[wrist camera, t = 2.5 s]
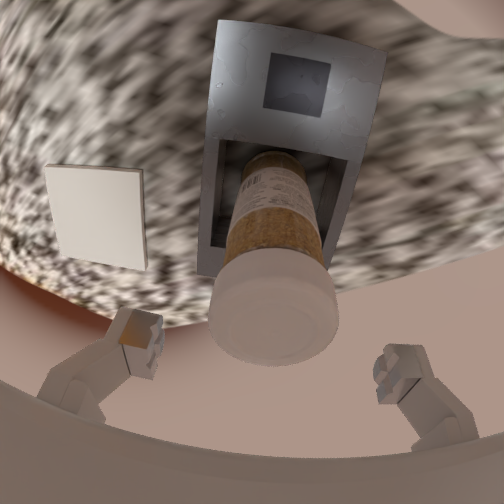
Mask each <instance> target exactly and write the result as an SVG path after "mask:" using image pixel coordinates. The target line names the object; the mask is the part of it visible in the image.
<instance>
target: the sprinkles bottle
mask: <svg viewBox="0 0 504 504" xmlns="http://www.w3.org/2000/svg"><path fill="white" fill-rule="evenodd" d="M321 246H322V244H321V238H320V234H319V229H318V225H317V221H316V216H315V211H314V207H313V203H312V199H311V195H310V192H309V189H308V187H307V177H306V174H305V170H304V168H303V166H302V165H301V164H300V162H299V161H298V160H297V159H296V158H295V157H293V156H292V155H290V154H288V153H286V152H281V151H267V152H263V153H260V154H258V155H257V156H255V157H253V158H252V159H251V160H250V161H249V162H248V163H247V164H246V166H245V168H244V170H243V172H242V176H241V186H240V189H239V191H238V195H237V199H236V203H235V207H234V211H233V215H232V219H231V223H230V227H229V232H228V236H227V243H226V253H225V258H224V263H223V267H222V268H221V270H220V272H219V274H218V276H217V278H216V280H215V283H214V287H213V291H212V296H211V301H210V307H209V313H208V326H209V330H210V333H211V335H212V337H213V339H214V340H215V342H216V343H217V344H218V345H219V346H220V347H221V348H222V349H223V350H224V351H225V352H226V353H228V354H230V355H231V356H233V357H235V358H237V359H239V360H241V361H244V362H247V363H251V364H255V365H261V366H286V365H291V364H296V363H299V362H302V361H305V360H308V359H310V358H312V357H314V356H316V355H317V354H319V353H320V352H322V351H323V350H324V349H325V348H326V347H327V346H328V345H329V344H330V343H331V341H332V340H333V338H334V336H335V334H336V332H337V329H338V325H339V314H338V306H337V300H336V295H335V290H334V285H333V282H332V278H331V277H330V275H329V273H328V272H327V269H326V268H325V265H324V259H323V254H322V249H321Z"/></svg>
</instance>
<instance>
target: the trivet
mask: <svg viewBox="0 0 504 504" xmlns="http://www.w3.org/2000/svg"><path fill="white" fill-rule="evenodd" d="M44 171H45V178H46V185H47V191H48V197H49V202H50V207H51V213H52V218H53V222H54V227H55V231H56V236H57V240H58V244H59V248H60V252H61V256H66V257H71V258H76V259H81V260H87V261H92V262H97V263H103V264H108V265H114V266H119V267H125V268H131V269H136V270H142V271H146V269H147V255H146V242H145V227H144V208H143V177H142V170H138V169H126V168H113V167H97V166H79V165H56V164H48V165H46V166H45V167H44Z"/></svg>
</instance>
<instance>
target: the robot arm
mask: <svg viewBox="0 0 504 504" xmlns="http://www.w3.org/2000/svg"><path fill="white" fill-rule="evenodd" d="M162 325H163V316H162V315H158V314H154V313H150V312H145V311H141V310H137V309H132V308H128V307H124V306H122V307H121V308H120V309H119V310H118V312H117V314H116V315H115V317H114V319H113V321H112V323H111V325H110V327H109V329H108V331H107V333H106V336H105V337H104V339H98V340H97V341H95V342H94V343H92V344H90V345H89V346H87V347H85V348H84V349H82V350H81V351H79V352H77V353H76V354H74V355H72V356H71V357H69V358H68V359H66V360H64V361H63V362H61V363H60V364H58V365H56V366H55V367H53V368H51V369H50V371H49V373H48V375H47V377H46V379H45V381H44V383H43V385H42V387H41V389H40V391H39V393H38V395H37V397H34V396H32V395H29V394H27V393H25V392H23V391H21V390H19V389H17V388H15V387H13V386H11V385H9V384H7V383H5V382H3V381H1V380H0V504H504V432H501V433H498V434H494V435H491V436H487V437H484V438H479V435H478V431H477V427H476V424H475V421H474V417H473V414H472V412H471V411H470V410H469V409H468V408H467V407H466V406H465V405H464V404H463V403H462V402H461V401H460V400H459V399H458V398H457V397H456V396H455V395H454V394H453V393H452V392H451V391H450V390H449V389H448V388H447V387H446V386H445V385H444V384H443V383H442V382H441V381H440V380H439V379H438V378H435V377H434V374H433V372H432V369H431V366H430V363H429V360H428V357H427V354H426V351H425V349H424V347H423V346H422V345H410V344H388V345H386V346H385V348H384V349H383V352H384V354H383V355H381V356H379V357H378V358H377V360H376V362H375V364H374V368H373V377H374V381H375V382H376V383H377V384H378V387H377V389H376V392H377V397H378V402H379V404H398V407H399V409H400V410H401V411H402V413H403V414H404V415H405V417H406V418H407V420H408V421H409V422H410V424H411V425H412V427H413V428H414V429H415V431H416V432H417V434H418V435H419V436H420V438H421V439H419V440H418V441H417V442H416V443H414V444H413V445H412V447H411V449H412V452H408V453H401V454H392V455H382V456H369V457H355V458H354V457H353V458H289V457H272V456H259V455H249V454H239V453H232V452H224V451H217V450H211V449H204V448H199V447H193V446H188V445H182V444H178V443H173V442H168V441H164V440H160V439H155V438H151V437H147V436H144V435H140V434H136V433H132V432H129V431H125V430H122V429H118V428H115V427H112V426H109V425H106V424H104V423H105V420H106V418H105V416H104V414H103V412H102V411H101V409H100V407H99V406H98V404H99V403H100V402H101V401H102V400H104V399H105V398H106V397H107V396H108V395H109V394H110V393H112V392H113V391H114V390H115V389H117V388H118V387H119V386H120V385H121V384H122V383H123V382H125V381H126V380H127V379H128V378H129V377H130V375H132V376H136V377H141V378H145V379H150V380H153V378H154V374H155V372H156V369H157V358H158V357H159V356H161V353H162V350H163V344H164V330H163V329H162V328H161V327H162Z"/></svg>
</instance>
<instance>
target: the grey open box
mask: <svg viewBox="0 0 504 504" xmlns="http://www.w3.org/2000/svg"><path fill="white" fill-rule="evenodd" d="M387 54H388V52H385V51H382V50H379V49H376V48H372V47H369V46H366V45H363V44H359V43H356V42H352V41H348V40H345V39H341V38H337V37H333V36H328V35H324V34H320V33H315V32H310V31H305V30H300V29H294V28H289V27H282V26H276V25H269V24H261V23H253V22H243V21H231V20H218V26H217V33H216V40H215V48H214V56H213V64H212V72H211V81H210V90H209V99H208V109H207V119H206V130H205V141H204V153H203V166H202V180H201V195H200V212H199V232H198V255H197V275H203V276H210V277H216V278H217V276H218V274H219V272H220V270H221V268H222V267H223V263H224V258H225V253H226V243H227V236H228V232H229V227H230V223H231V219H232V218H231V217H224V216H220V206H221V196H222V185H223V176H224V166H225V157H226V148H227V140H235V141H242V142H250V143H257V144H263V145H270V146H276V147H282V148H288V149H294V150H299V151H305V152H310V153H315V154H321V155H325V156H330V157H331V160H330V164H329V168H328V172H327V176H326V180H325V184H324V188H323V192H322V196H321V200H320V204H319V207H318V211H317V215H316V221H317V225H318V229H319V234H320V238H321V244H322V246H321V249H322V254H323V259H324V265H325V268H326V269H327V271H328V268H329V265H330V262H331V259H332V257H333V254H334V251H335V248H336V245H337V242H338V239H339V236H340V233H341V230H342V226H343V223H344V220H345V217H346V214H347V211H348V207H349V204H350V201H351V198H352V194H353V191H354V188H355V184H356V181H357V177H358V174H359V170H360V167H361V163H362V160H363V156H364V152H365V149H366V145H367V141H368V137H369V133H370V129H371V126H372V122H373V118H374V113H375V109H376V105H377V101H378V96H379V92H380V88H381V83H382V79H383V74H384V69H385V64H386V59H387Z"/></svg>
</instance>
